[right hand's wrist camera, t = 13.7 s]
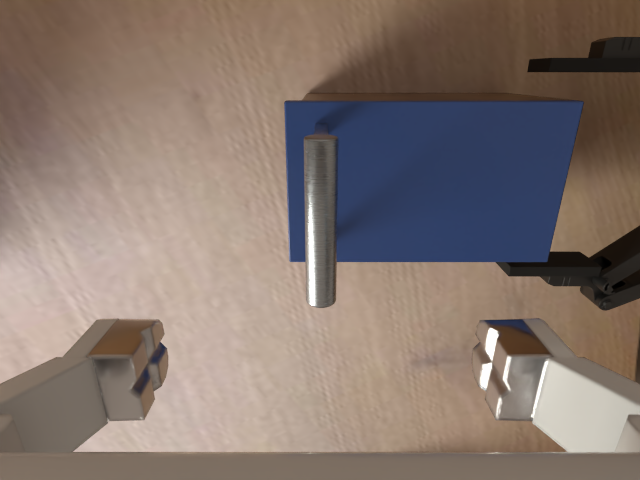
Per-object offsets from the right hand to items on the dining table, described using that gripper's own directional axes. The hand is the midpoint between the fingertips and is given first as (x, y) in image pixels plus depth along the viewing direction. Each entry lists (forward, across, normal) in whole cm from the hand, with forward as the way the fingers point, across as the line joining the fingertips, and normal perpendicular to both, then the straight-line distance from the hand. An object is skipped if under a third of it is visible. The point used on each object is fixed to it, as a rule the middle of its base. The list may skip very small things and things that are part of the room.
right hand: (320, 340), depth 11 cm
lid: (+16, +6, 0) cm, 17 cm away
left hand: (+19, +14, 0) cm, 23 cm away
